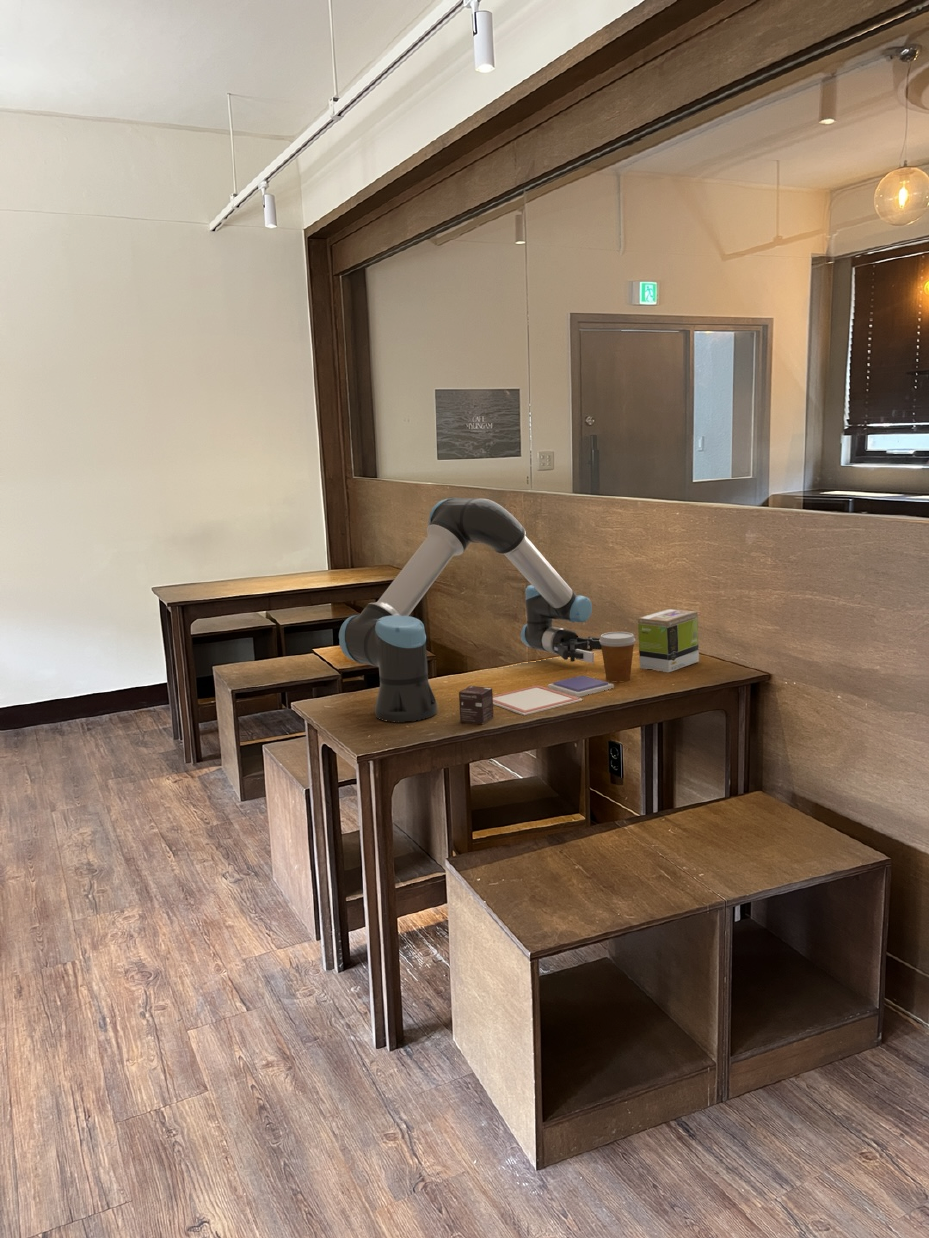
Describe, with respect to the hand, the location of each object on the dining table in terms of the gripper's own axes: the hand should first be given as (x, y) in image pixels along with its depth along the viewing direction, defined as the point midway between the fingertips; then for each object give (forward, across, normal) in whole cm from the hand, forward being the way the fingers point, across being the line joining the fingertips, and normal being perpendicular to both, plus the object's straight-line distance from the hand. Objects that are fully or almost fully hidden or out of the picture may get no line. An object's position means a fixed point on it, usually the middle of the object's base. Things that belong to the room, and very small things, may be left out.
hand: (612, 653), depth 236 cm
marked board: (+3, +30, -6) cm, 30 cm away
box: (+7, +49, -7) cm, 50 cm away
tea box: (+2, -19, -7) cm, 21 cm away
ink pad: (+3, +14, -6) cm, 15 cm away
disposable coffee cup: (+3, +1, -7) cm, 7 cm away
